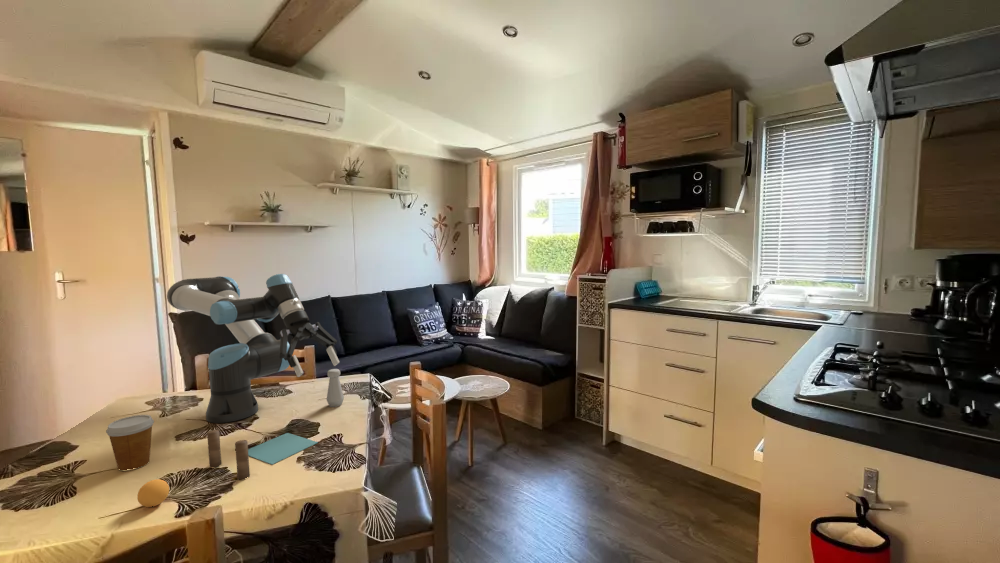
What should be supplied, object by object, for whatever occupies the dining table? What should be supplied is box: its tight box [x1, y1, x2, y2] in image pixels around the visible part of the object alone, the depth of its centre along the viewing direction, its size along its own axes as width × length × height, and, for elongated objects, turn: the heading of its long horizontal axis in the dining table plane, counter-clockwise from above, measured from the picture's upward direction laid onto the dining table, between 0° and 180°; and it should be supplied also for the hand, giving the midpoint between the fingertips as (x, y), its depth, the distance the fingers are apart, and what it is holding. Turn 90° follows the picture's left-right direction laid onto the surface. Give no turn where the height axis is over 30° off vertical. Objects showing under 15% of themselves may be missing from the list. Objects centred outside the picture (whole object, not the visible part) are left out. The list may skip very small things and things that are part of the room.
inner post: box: [206, 429, 223, 468], centre depth 111 cm, size 3×3×9 cm
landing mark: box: [248, 432, 319, 466], centre depth 121 cm, size 14×14×1 cm
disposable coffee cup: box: [105, 414, 155, 470], centre depth 112 cm, size 10×10×12 cm
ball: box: [136, 478, 170, 508], centre depth 94 cm, size 6×6×6 cm
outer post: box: [234, 439, 251, 480], centre depth 105 cm, size 3×3×9 cm
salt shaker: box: [326, 368, 345, 408], centre depth 153 cm, size 6×6×13 cm
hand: (319, 369), depth 141 cm, fingers open, 13 cm apart
